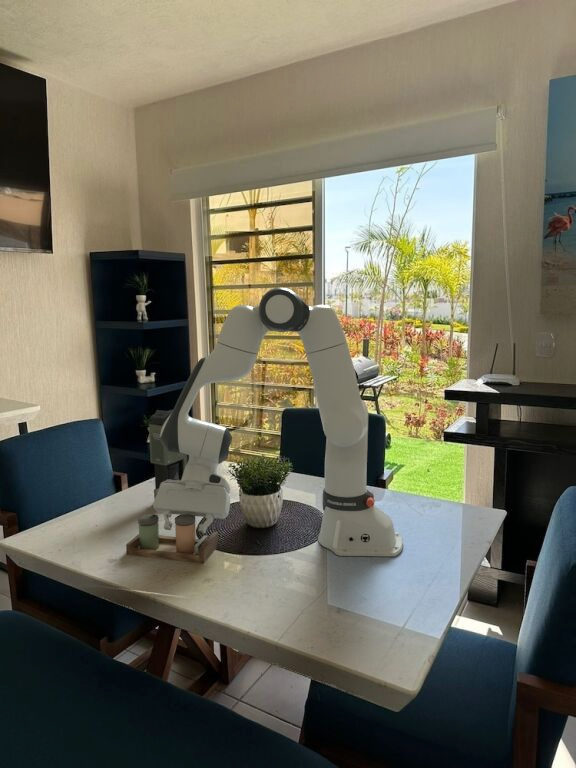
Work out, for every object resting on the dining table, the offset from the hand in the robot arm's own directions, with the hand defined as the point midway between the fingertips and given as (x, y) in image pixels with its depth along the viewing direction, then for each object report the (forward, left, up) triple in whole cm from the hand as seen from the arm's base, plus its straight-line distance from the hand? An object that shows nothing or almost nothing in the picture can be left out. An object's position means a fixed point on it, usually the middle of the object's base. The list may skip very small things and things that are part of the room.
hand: (184, 530), depth 139 cm
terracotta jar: (0, -1, -6) cm, 6 cm away
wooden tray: (+4, -1, -6) cm, 7 cm away
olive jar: (+10, -1, -6) cm, 12 cm away
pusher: (-5, -1, -6) cm, 7 cm away
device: (+19, -35, -6) cm, 40 cm away
